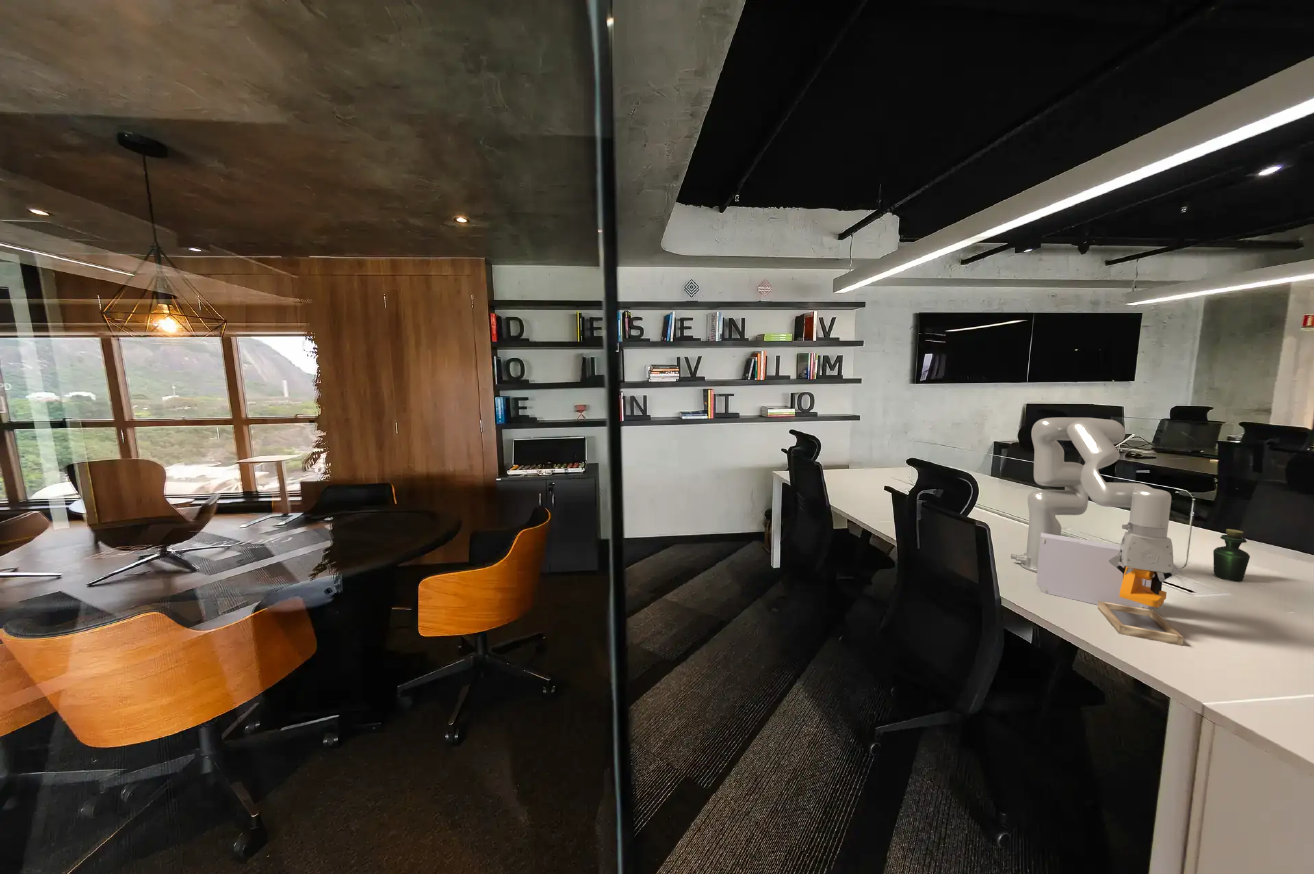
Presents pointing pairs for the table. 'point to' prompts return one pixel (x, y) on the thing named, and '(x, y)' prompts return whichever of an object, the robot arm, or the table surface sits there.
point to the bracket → (1140, 588)
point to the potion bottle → (1231, 557)
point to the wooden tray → (1139, 623)
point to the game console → (1081, 570)
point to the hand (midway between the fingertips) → (1141, 589)
